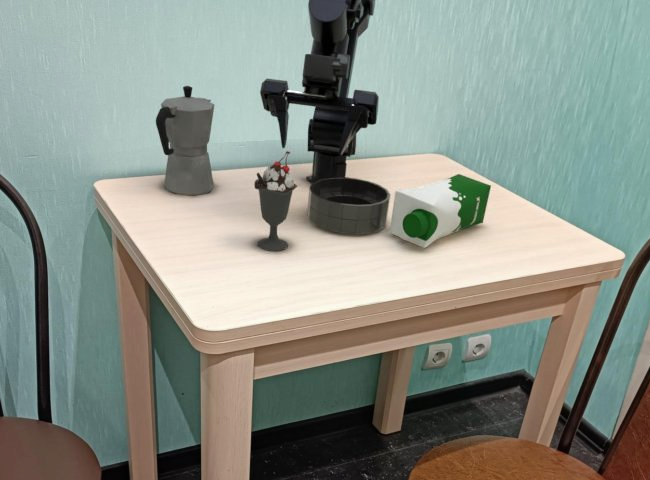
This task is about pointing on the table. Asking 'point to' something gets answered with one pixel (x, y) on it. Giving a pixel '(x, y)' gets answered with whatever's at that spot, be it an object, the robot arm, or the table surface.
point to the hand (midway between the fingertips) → (311, 150)
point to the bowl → (348, 205)
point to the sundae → (275, 201)
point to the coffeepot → (186, 143)
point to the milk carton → (438, 209)
